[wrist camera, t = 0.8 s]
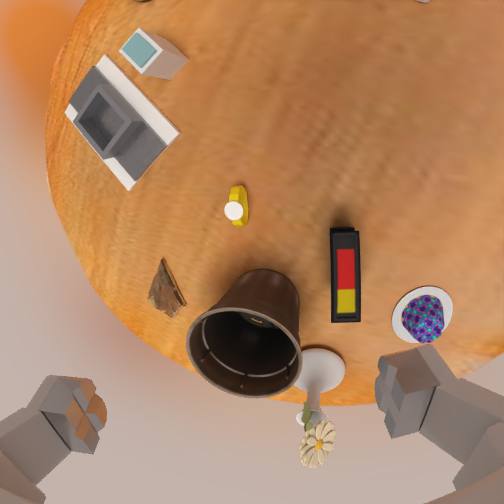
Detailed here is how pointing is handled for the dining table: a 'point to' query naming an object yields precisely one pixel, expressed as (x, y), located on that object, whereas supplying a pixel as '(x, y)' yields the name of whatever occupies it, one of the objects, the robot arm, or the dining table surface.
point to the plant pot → (250, 337)
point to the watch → (237, 206)
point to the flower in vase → (317, 403)
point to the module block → (153, 55)
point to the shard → (165, 292)
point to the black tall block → (345, 275)
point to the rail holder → (120, 122)
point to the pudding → (422, 315)
